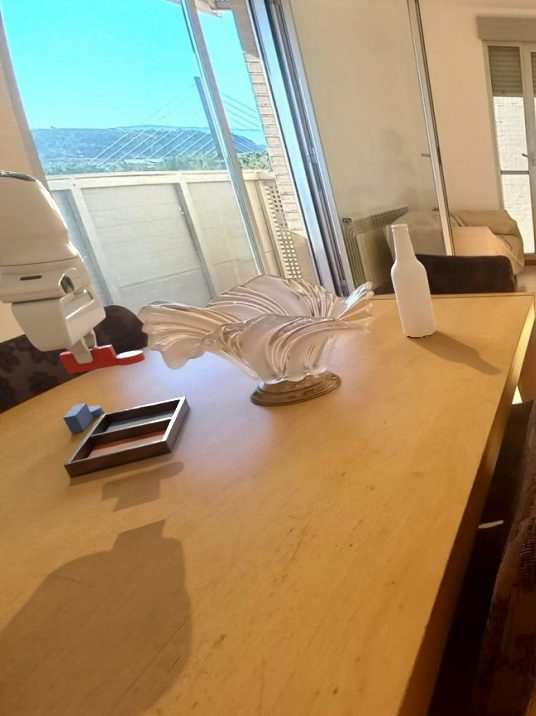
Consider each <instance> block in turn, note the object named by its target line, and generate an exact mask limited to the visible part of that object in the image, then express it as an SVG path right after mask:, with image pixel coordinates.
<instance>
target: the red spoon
mask: <svg viewBox="0 0 536 716" xmlns="http://www.w3.org/2000/svg"><path fill="white" fill-rule="evenodd" d="M88 349H89V350H92V352H93V355H94V356H95V358H94V360H93V361H92V362H89V363H83V364H80V363H78V362H77V361H76V359H75V357H74V355H73V354H72V353H71V352H70V351H69V350H67V351H63V352H61V353H60V354H59V355H58V356H59V358H60V360H61V362H62V364H63V366H64V367H65V369H66V371H67V373H68V374H69V375H72V374H77V373H82V372H87V371H93V370H98V369H99V370H100V369H104V368H105V369H106V368H111V367H116V366H130V365H134V364H138V363H140V362H143V361H145V360H146V357H145V355H144V353H143V351H142V350H131V351H130V350H129V351H126V352H122V353H119V354H117V353H116V351H115V349H114V347H113V345H112V344H106V345H100V346H99V345H98V346H97V347H93V348H88Z"/></svg>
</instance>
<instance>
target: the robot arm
mask: <svg viewBox="0 0 536 716" xmlns="http://www.w3.org/2000/svg"><path fill="white" fill-rule="evenodd" d="M93 284H94V281H93V279H92V277H91V275H90V272H89V270H88V268H87V267H86V264H85V261H84V260H83V258H82V255H81V254H80V252H79V251H78V249H76V247H74V245H73V244H72V243H71V240H70V237H69V228H68V226H67V223H66V222H65V220H64V217H63V216H62V214H61V211H60V210H59V208H58V207H57V204H56V203H55V201H54V199H53V198H52V196H51V195H50V193H49V192H48V190H47V189H46V188H45V187H44V186H43V183H41V182H40V181H39V180H38V179H36V178H35V177H33V176H32V175H29V174H26V173H23V172H20V171H13V170H6V169H0V302H1V303H2V304H5V305H6V304H10V310H11V313H12V315H13V317H14V319H15V320H16V322H17V324H18V325H19V327H20V328H21V330H22V332H23V333H24V335H25V337H26V338H27V340H28V341H29V342H30V343H31V344H32V346H33V347H35V349H38V350H39V351H40V352H49V351H51V352H52V351H57V350H63V349H66V350H67V351H70V352H71V353H72V354H73V355H74V357H75V359H76V361H77V362H78V363H80V364H83V363H89V362H92V361H93V360H94V358H95V356H94V355H93V352H92V350H89V349H88V348H93V347H98V344H97V337H96V333H95V331H94V328H95V327H96V326H98V325H99V324H100V323H101V322H102V321H103V320H105V319H106V318H107V316H106V311H105V308H104V306H103V305H102V302H101V300H100V299H99V297H98V295H97V293H96V291H95V290H94V288H93V286H92V285H93Z"/></svg>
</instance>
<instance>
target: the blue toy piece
mask: <svg viewBox="0 0 536 716" xmlns="http://www.w3.org/2000/svg"><path fill="white" fill-rule="evenodd" d="M102 414H105V413H104V410H103V408H102V406H101V405H89V406H88V404H87V403H86V402H83V403H79V404H74V405H73V406H72V407H71V409H69V411H68V412H67V413H66V414H65V415H64V416H63V417H62V418H63V420H64V423H65V424H66V426H67V427H68V430H69V431H70V433H71V434H77V433H81V432H85V430H86V429H87V428H88V427H89V425H90V424H91V423H92V421H93V420H94V419H96V418H99V417H100V416H101V415H102Z"/></svg>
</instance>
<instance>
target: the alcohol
mask: <svg viewBox="0 0 536 716" xmlns="http://www.w3.org/2000/svg"><path fill="white" fill-rule="evenodd" d="M408 226H409V225H408V224H407V223H396V224H392V225H391V226H390V228H391V233H392V237H393V243H394V251H395V252H394V253H395V262H394V264H393V265H392V267H391V272H390V276H391V281H392V285H393V290H394V294H395V300H396V304H397V309H398V313H399V318H400V323H401V327H402V332H403V335H405V336H406V335H407V336H422V335H427V334H430V333H432V332H434V331H435V332H436V331H437V323H436V318H435V312H434V307H433V301H432V296H431V290H430V285H429V280H428V275H427V270H426V268H425V266H424V265H423V264H422V263H421V262H420V261H419V260H418V259H417V257H416V254H415V252H414V247H413V244H412V240H411V236H410V233H409V232H410V231H409V228H408ZM407 336H406V337H407Z"/></svg>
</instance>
